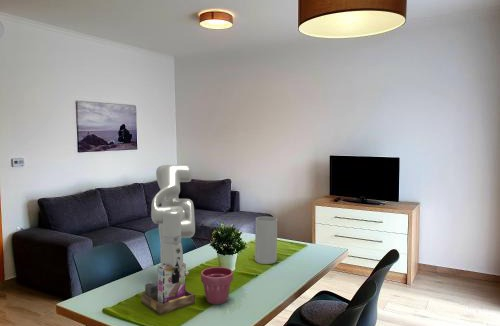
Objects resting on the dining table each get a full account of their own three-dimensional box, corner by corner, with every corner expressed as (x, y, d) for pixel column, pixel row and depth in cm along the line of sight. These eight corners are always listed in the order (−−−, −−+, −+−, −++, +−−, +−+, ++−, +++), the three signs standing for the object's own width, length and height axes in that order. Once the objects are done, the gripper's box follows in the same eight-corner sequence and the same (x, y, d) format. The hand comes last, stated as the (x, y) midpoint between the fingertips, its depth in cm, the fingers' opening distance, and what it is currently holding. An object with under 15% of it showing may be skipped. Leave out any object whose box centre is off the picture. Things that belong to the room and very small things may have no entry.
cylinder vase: (262, 256, 237) (263, 215, 235) (280, 260, 229) (281, 218, 228) (250, 261, 227) (251, 219, 225) (268, 266, 219) (269, 222, 217)
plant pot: (203, 292, 181) (203, 265, 181) (233, 293, 181) (234, 266, 180) (198, 306, 167) (198, 277, 166) (231, 307, 167) (231, 278, 166)
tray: (175, 292, 182) (175, 275, 181) (195, 303, 170) (195, 285, 169) (141, 302, 170) (141, 284, 170) (159, 315, 158) (159, 296, 158)
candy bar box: (163, 307, 162) (163, 269, 161) (157, 304, 166) (157, 266, 165) (186, 300, 170) (186, 263, 169) (179, 296, 174) (179, 260, 172)
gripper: (190, 241, 162) (190, 284, 164) (169, 233, 175) (169, 273, 176) (174, 245, 157) (174, 289, 158) (154, 236, 170) (154, 277, 171)
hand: (171, 280), depth 167 cm, fingers closed on candy bar box, 5 cm apart
